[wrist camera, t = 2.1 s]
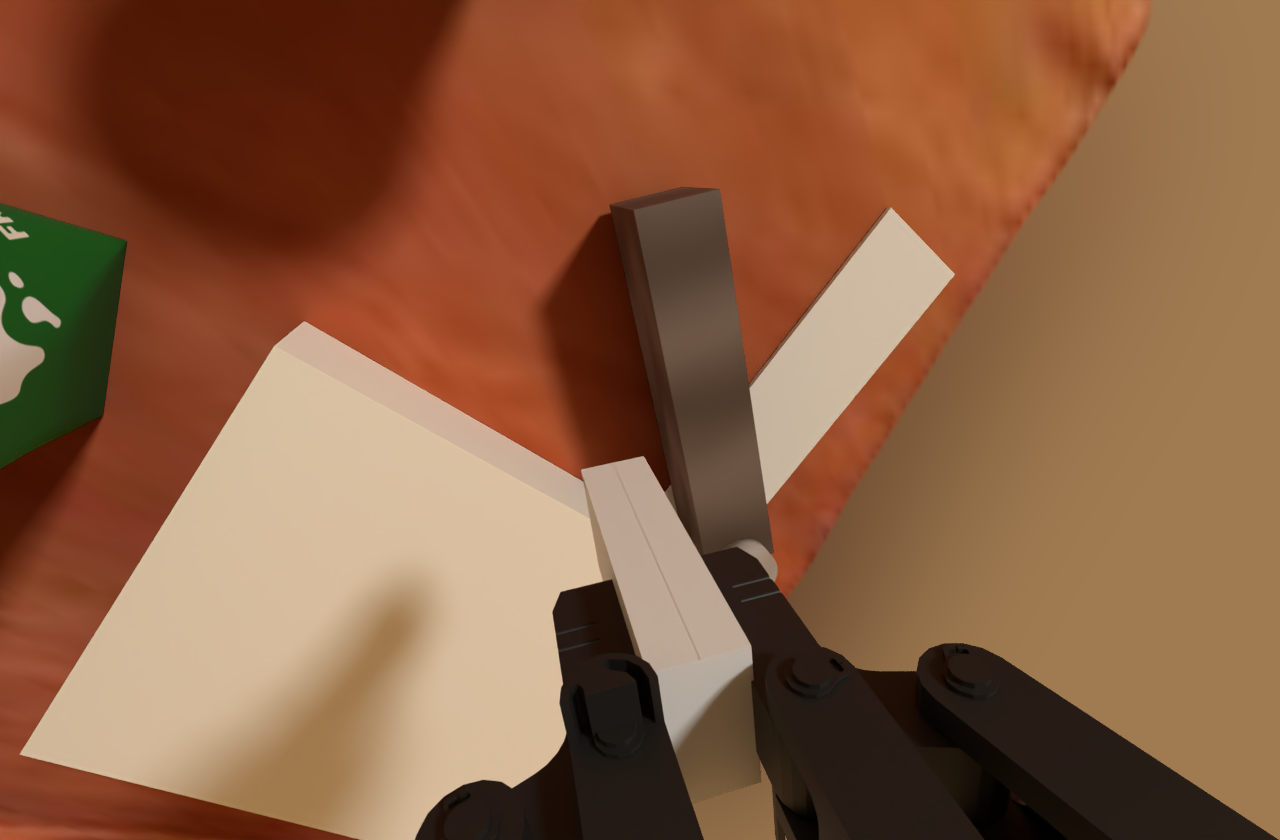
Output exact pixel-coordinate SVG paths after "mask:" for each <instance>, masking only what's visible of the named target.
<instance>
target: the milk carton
mask: <svg viewBox="0 0 1280 840" xmlns="http://www.w3.org/2000/svg"><path fill="white" fill-rule="evenodd" d="M126 245H127V241H125V240H122V239H119V238H115V237H112V236H109V235H105V234H102V233H99V232H95V231H92V230H89V229H85V228H82V227H79V226H75V225H72V224H69V223H65V222H62V221H58V220H55V219H52V218H48V217H45V216H42V215H38V214H35V213H32V212H28V211H25V210H22V209H18V208H15V207H12V206H8V205H5V204H2V203H0V469H1V468H3V467H4V466H6V465H8V464H9V463H11V462H13V461H14V460H16V459H18V458H19V457H21V456H23V455H25V454H26V453H28V452H30V451H32V450H34V449H36V448H38V447H40V446H42V445H44V444H46V443H48V442H50V441H52V440H54V439H57V438H59V437H61V436H63V435H65V434H67V433H69V432H71V431H73V430H75V429H77V428H79V427H81V426H83V425H85V424H87V423H89V422H91V421H93V420H95V419H97V418H99V417H101V416H103V412H104V405H105V397H106V390H107V383H108V375H109V368H110V361H111V354H112V346H113V339H114V332H115V324H116V317H117V310H118V303H119V295H120V288H121V281H122V274H123V266H124V259H125V252H126Z"/></svg>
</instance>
